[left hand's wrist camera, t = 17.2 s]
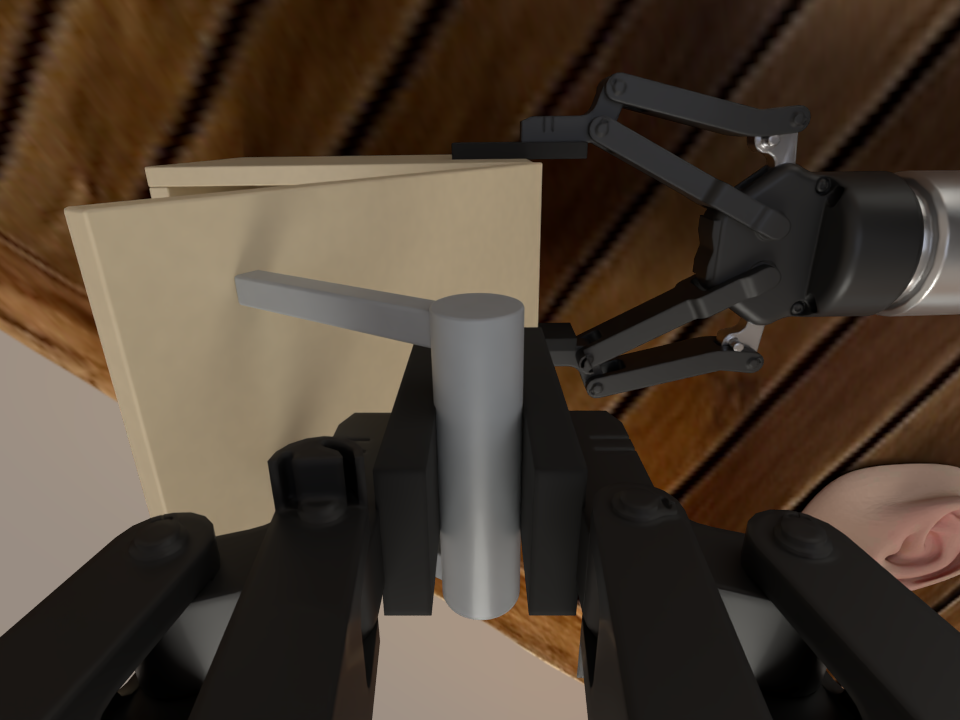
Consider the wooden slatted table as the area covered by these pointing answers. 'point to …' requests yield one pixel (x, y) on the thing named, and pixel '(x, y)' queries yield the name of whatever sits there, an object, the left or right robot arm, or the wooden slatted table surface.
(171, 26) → the wooden slatted table surface
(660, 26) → the wooden slatted table surface
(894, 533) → the anatomical model
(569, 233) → the wooden slatted table surface
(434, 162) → the chest
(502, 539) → the lid
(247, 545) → the left robot arm
